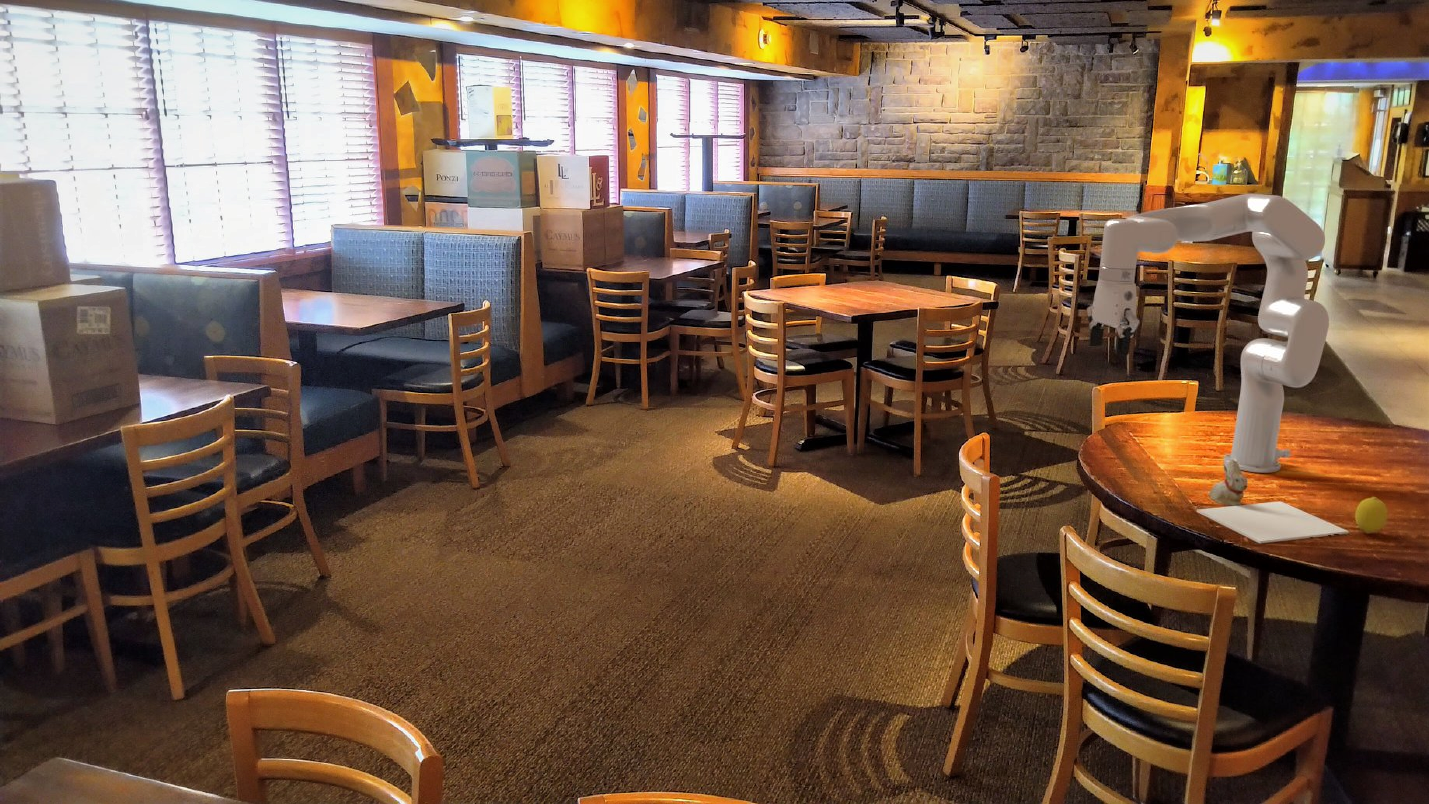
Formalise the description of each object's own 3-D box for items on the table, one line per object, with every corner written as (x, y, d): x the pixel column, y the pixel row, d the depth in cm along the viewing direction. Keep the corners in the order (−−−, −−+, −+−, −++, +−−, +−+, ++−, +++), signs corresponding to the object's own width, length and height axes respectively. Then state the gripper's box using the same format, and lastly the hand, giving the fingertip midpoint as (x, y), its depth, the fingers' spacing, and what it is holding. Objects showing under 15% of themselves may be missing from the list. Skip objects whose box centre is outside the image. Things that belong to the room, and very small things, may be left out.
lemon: (1346, 528, 214) (1352, 492, 212) (1371, 528, 215) (1377, 492, 213) (1364, 539, 209) (1371, 502, 207) (1390, 538, 210) (1397, 501, 207)
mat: (1280, 503, 229) (1280, 501, 228) (1348, 533, 212) (1348, 531, 212) (1196, 511, 223) (1196, 509, 223) (1259, 543, 206) (1260, 541, 206)
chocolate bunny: (1220, 507, 226) (1226, 464, 223) (1205, 495, 233) (1211, 453, 231) (1246, 508, 226) (1252, 464, 223) (1230, 495, 233) (1236, 453, 231)
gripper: (1156, 280, 223) (1147, 357, 228) (1107, 269, 239) (1099, 342, 244) (1127, 281, 221) (1117, 359, 226) (1079, 270, 238) (1071, 343, 242)
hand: (1108, 350), depth 235 cm, fingers open, 9 cm apart
